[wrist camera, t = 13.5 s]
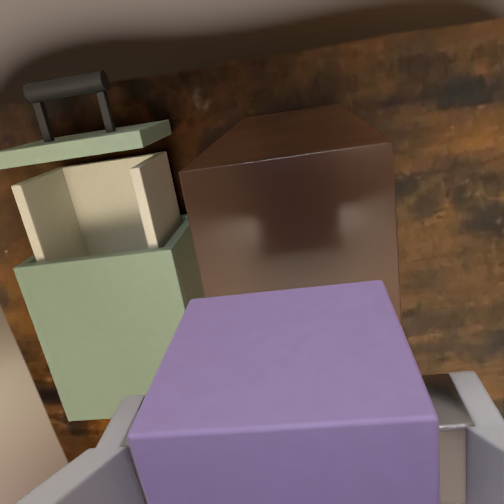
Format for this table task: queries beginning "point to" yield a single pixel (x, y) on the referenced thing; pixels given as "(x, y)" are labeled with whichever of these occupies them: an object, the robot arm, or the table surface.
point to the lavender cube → (289, 404)
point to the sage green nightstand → (109, 319)
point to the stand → (294, 204)
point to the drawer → (93, 181)
